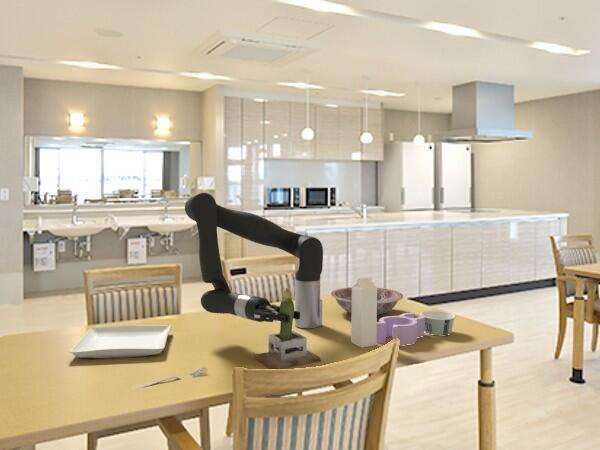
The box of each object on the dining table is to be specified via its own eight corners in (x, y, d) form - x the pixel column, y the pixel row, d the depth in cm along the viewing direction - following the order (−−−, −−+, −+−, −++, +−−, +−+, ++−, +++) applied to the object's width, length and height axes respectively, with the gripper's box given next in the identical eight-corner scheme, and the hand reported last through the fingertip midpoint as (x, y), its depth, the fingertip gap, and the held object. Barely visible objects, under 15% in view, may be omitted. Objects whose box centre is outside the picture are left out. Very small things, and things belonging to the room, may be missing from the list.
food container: (462, 334, 183) (462, 316, 182) (438, 339, 176) (438, 320, 176) (436, 326, 193) (437, 308, 192) (412, 331, 187) (413, 313, 186)
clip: (402, 329, 189) (402, 310, 188) (433, 336, 180) (433, 317, 180) (369, 341, 174) (369, 321, 174) (401, 350, 166) (401, 328, 165)
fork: (115, 391, 133) (115, 384, 133) (204, 372, 147) (203, 365, 146) (119, 395, 130) (119, 388, 130) (208, 375, 144) (208, 369, 144)
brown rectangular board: (300, 349, 165) (300, 346, 165) (320, 360, 155) (320, 357, 155) (254, 357, 157) (254, 354, 157) (272, 370, 147) (272, 366, 147)
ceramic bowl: (315, 314, 210) (315, 294, 209) (356, 301, 232) (357, 284, 231) (377, 327, 191) (378, 306, 190) (415, 312, 213) (416, 293, 212)
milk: (376, 345, 170) (378, 278, 168) (361, 348, 167) (362, 280, 165) (365, 340, 175) (366, 275, 174) (350, 342, 172) (351, 277, 171)
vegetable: (278, 349, 158) (279, 284, 156) (293, 349, 158) (294, 284, 157) (279, 354, 154) (280, 287, 152) (294, 354, 154) (295, 287, 152)
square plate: (164, 359, 156) (164, 347, 156) (68, 364, 152) (67, 351, 152) (172, 333, 183) (172, 323, 183) (90, 336, 179) (90, 325, 179)
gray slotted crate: (292, 349, 162) (292, 330, 161) (306, 357, 155) (306, 338, 154) (268, 354, 158) (268, 334, 157) (281, 362, 150) (281, 342, 150)
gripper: (236, 299, 158) (278, 309, 147) (267, 292, 169) (309, 300, 159) (235, 324, 159) (278, 335, 148) (267, 315, 170) (308, 324, 159)
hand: (294, 317), depth 153 cm, fingers closed on vegetable, 4 cm apart
